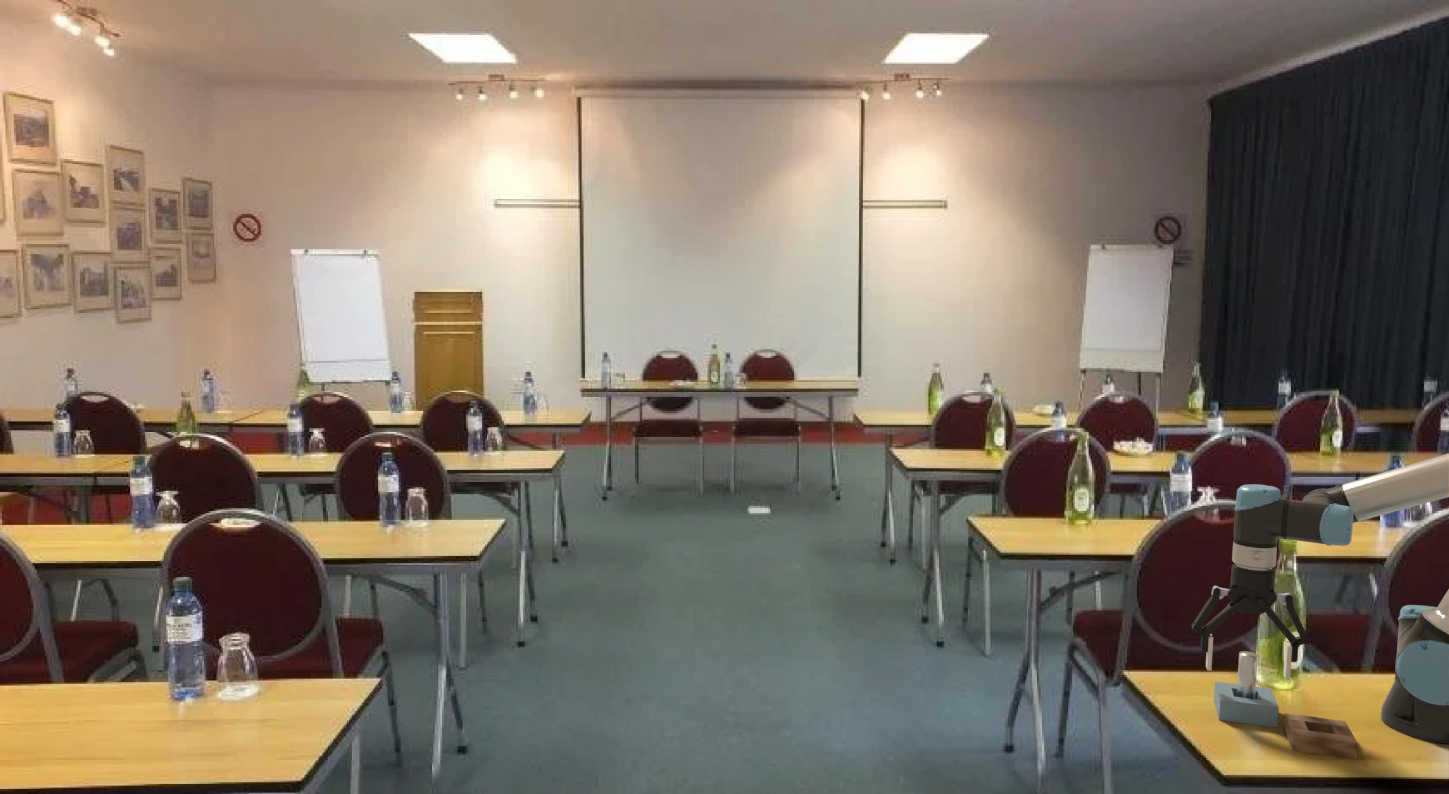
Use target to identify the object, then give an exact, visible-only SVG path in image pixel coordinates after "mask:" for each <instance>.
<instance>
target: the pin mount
mask: <svg viewBox="0 0 1449 794" xmlns="http://www.w3.org/2000/svg"><path fill="white" fill-rule="evenodd" d="M1283 713H1284V714H1283V715H1284V716H1283V731H1284V734H1285V735H1286V736H1285V737H1286V739H1287V740H1288V743H1289V745H1290V747H1291V750H1292V751H1295V752H1302V753H1310V754H1314V755H1315V754H1317V755H1322V756H1323V755H1324V756H1331V757H1337V758H1345V759H1351V760H1357V758H1358V757H1357V756H1358V746H1359V745H1358V743H1359V742H1358V741H1357V739H1356V738H1355V736H1354V734H1353V733H1352V730H1351V729H1350V727H1349V725H1348V723H1347V722H1346V720H1340V719H1334V718H1333V719H1332V718H1325V717H1316V716H1311V715H1310V716H1309V715H1302V714H1293V713H1286V712H1283Z"/></svg>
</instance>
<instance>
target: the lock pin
mask: <svg viewBox="0 0 1449 794" xmlns="http://www.w3.org/2000/svg"><path fill="white" fill-rule="evenodd" d="M1238 653H1239V654H1238V667H1237V668H1238V669H1237V683H1236V684H1237V697H1242V698H1249V699H1255V693H1256V687H1257V675H1258V674H1257V673H1258V661H1259V660H1258V658H1259V655H1258V654H1257V653H1255V652H1252V651H1246V650H1245V651H1244V650H1242V651H1239V652H1238Z"/></svg>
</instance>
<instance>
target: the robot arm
mask: <svg viewBox="0 0 1449 794" xmlns="http://www.w3.org/2000/svg"><path fill="white" fill-rule="evenodd" d="M1446 498H1449V452H1448V453H1446V454H1442V455H1438V456H1436V457H1435V456H1434V457H1432V458H1429V459H1425V460H1421V461H1418V462H1415V463H1411V464H1408V465H1404V466H1402V467H1398V468H1394V469H1391V470H1387V471H1384V472H1381V473H1377V474H1374V475H1371V476H1367V477H1363V478H1360V479H1356V480H1353V481H1349V482H1346V483H1343V484H1341V485H1335V486H1334V487H1333V486H1332V487H1330V488H1318V489H1315V490H1312V491H1309V492H1308V493H1307V494H1306V495H1305V496H1304V497H1303V498H1302V500H1297V499H1295V500H1293V499H1287V498H1282V495H1281V490H1280V489H1279V488H1278V487H1275V486H1272V485H1267V484H1257V483H1256V484H1255V483H1253V484H1243V485H1241V486H1240V487H1238V488H1237V490H1236V500H1235V506H1234V519H1233V520H1234V521H1233V543H1232V554H1231V556H1232V557H1231V561H1232V562H1233V564H1232V565H1231V575H1230V585H1229V587H1228V588H1225V587H1224V588H1223V587H1220V586H1219V585H1217V584H1214V585H1213V586H1212V587H1211V593H1210V596H1209V598H1208V599H1207V600H1206V603H1205V604H1204V606H1202V608H1201V610H1200V612H1199V613H1198V615H1197V616H1196V617H1195V619H1194V621H1193V622H1192V624H1191V629H1192V631H1193V632H1194V633H1196V634H1197V633H1198V634H1200V635H1201V638H1200V650H1201V651H1202V652H1203V653H1206V657H1205V667H1206V670H1207V671H1212V669H1213V668H1212V665H1213V651H1214V649H1213V647H1214V637H1213V633H1214V632H1215V631H1216V630H1217V629H1219V627H1221V626H1222V625H1223V624H1224V623H1225V622H1226V621H1227V620H1229V619H1230V618H1231V617H1232V616H1234V615H1235V614H1237V613H1238V612H1240V613H1242V614H1246V615H1247V614H1253V615H1254V616H1255V615H1256V616H1261V615H1263V614H1266V615H1267V617H1268V618H1269V619H1270V620H1271V621H1272V622H1273V624H1274V625H1275V626H1276V627H1277V629H1278V630H1279V631H1280V632H1281V633H1282V634H1283V636H1284V637H1285V638H1286V639H1287V641H1285V642H1284V656H1283V657H1284V659H1283V673H1282V675H1283V677H1284V679H1285V680H1286V681H1291V671H1292V670H1291V669H1292V668H1291V667H1292V663H1297V662H1298V658H1299V657H1298V656H1299V648H1300V646H1302V645H1309V644H1310V642H1311V639H1310V638H1309V636H1308V634H1307V631H1306V630H1305V628H1304V626H1303V623H1302V622H1301V620H1300V617H1299V616H1298V614H1297V612H1296V609H1295V606H1294V597H1293V595H1292V594H1291V592H1289V591H1285V592H1284V593H1276V591H1275V586H1276V585H1275V584H1276V572H1277V571H1276V569H1275V567H1276V566H1277V550H1278V548H1277V547H1278V539H1280V540H1281V539H1282V540H1291V541H1299V542H1305V543H1313V544H1320V545H1325V546H1329V547H1331V546H1339V547H1340V546H1341V547H1347V546H1349V545H1350V543H1352V538H1353V537H1352V536H1353V530H1354V529H1353V528H1354V526H1353V525H1354V524H1355V523H1358V522H1361V521H1365V520H1369V519H1372V518H1376V517H1379V516H1383V515H1387V514H1390V513H1394V512H1398V511H1402V510H1406V509H1410V508H1414V507H1416V506H1421V505H1424V504H1428V503H1431V502H1436V501H1440V500H1442V499H1443V500H1444V499H1446ZM1225 596H1228V598H1229V600H1230V601H1229V603H1228V604H1227V605H1226V607H1225V608H1222V610H1221V611H1220V612H1219V613H1218V614H1217V615H1215V616H1214V617H1213V618H1212V619H1211V620H1209V621H1208V623H1206V622H1207V620H1208V618H1209V617H1210V615H1211V614H1212V613H1213V611H1214V609H1215V608H1216V606H1217V605H1218V603H1219V601H1220V600H1222V599H1224V597H1225ZM1277 601H1279V603H1280V604H1281V605H1282V606H1285V609H1286V610H1287V613H1288V615H1289V617H1290V619H1291V621H1292V624H1293V625H1294V627H1295V630H1296V632H1297V634H1298V636H1295V635H1294V634H1293V633H1292V631H1291V630H1290V629H1289V628H1288V626H1287V625H1286V624H1285V623H1284V621H1283V620H1282V619H1281V618H1280V617H1279V616H1278V614H1277V613H1276V612H1275V610H1274V609H1273V608H1272V606H1273V605H1274V604H1275V603H1276V602H1277ZM1397 621H1398V630H1397V631H1398V632H1397V633H1398V634H1397V646H1396V647H1397V648H1396V658H1395V661H1394V663H1395V664H1394V667H1395V673H1394V682H1393V684H1392V686H1391V687H1390V689H1389V691H1388V694H1387V696H1386V698H1385V700H1384V702H1383V703H1382V707H1381V712H1380V719H1381V721H1382V723H1384V725H1386V726H1387V727H1389V728H1390V729H1393V730H1394V731H1396V732H1399V733H1401V734H1403V735H1406V736H1409V737H1413V738H1416V739H1420V740H1423V741H1427V742H1432V743H1440V744H1449V588H1448V590H1447V591H1446V593H1445V594H1444V596H1443V597H1442V599H1441V601H1440V602H1439V604H1438V606H1430V605H1429V606H1428V605H1420V604H1419V605H1418V604H1407V605H1404V606H1402V607H1401V609H1400V611H1399V616H1398V617H1397ZM1205 623H1206V624H1205ZM1204 624H1205V625H1204Z"/></svg>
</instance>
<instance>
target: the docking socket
mask: <svg viewBox="0 0 1449 794" xmlns="http://www.w3.org/2000/svg"><path fill="white" fill-rule="evenodd" d="M1213 693H1214V694H1213V703H1214V706H1215V709H1216V710H1215V711H1216V713H1217V714H1216V715H1217V717H1218V720H1219V721H1225V722H1231V723H1232V722H1233V723H1239V724H1246V725H1256V726H1261V727H1269V728H1278V723H1279V711H1280V710H1279V709H1280V706H1279V704H1278V702H1277V700H1276V698H1275V695H1274V692H1273V690H1272V688H1271V687H1264V686H1256V693H1255V699H1249V698H1242V697H1237V683H1231V682H1225V681H1224V682H1222V681H1214V692H1213Z"/></svg>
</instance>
